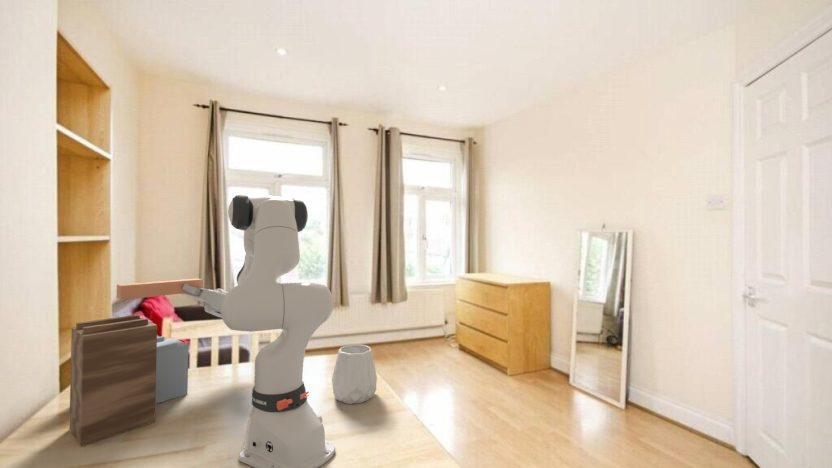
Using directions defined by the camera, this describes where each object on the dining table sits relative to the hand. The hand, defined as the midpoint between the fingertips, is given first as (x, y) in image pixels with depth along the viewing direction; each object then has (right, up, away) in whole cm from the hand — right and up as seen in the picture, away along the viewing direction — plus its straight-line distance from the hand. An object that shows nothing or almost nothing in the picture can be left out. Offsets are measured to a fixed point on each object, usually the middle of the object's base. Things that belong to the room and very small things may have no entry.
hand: (179, 285), depth 120 cm
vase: (+57, -35, -2) cm, 67 cm away
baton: (-3, -2, -4) cm, 5 cm away
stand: (-3, -34, -23) cm, 41 cm away
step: (-4, -34, -4) cm, 34 cm away
